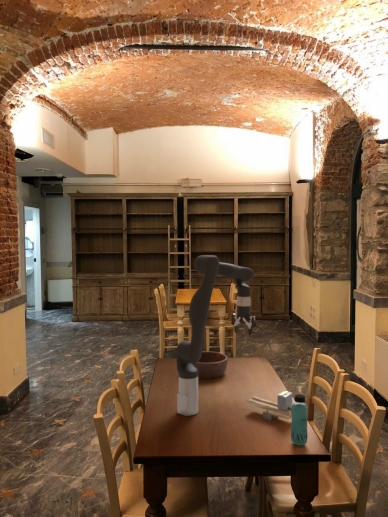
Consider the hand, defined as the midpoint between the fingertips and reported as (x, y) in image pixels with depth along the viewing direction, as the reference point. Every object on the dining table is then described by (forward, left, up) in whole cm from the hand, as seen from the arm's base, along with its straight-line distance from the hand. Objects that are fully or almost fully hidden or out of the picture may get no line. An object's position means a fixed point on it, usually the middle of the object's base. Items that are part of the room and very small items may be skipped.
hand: (243, 334), depth 227 cm
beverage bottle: (-39, -51, -29) cm, 71 cm away
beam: (-24, -30, -29) cm, 49 cm away
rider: (-24, -37, -24) cm, 51 cm away
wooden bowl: (+5, +29, -30) cm, 41 cm away
